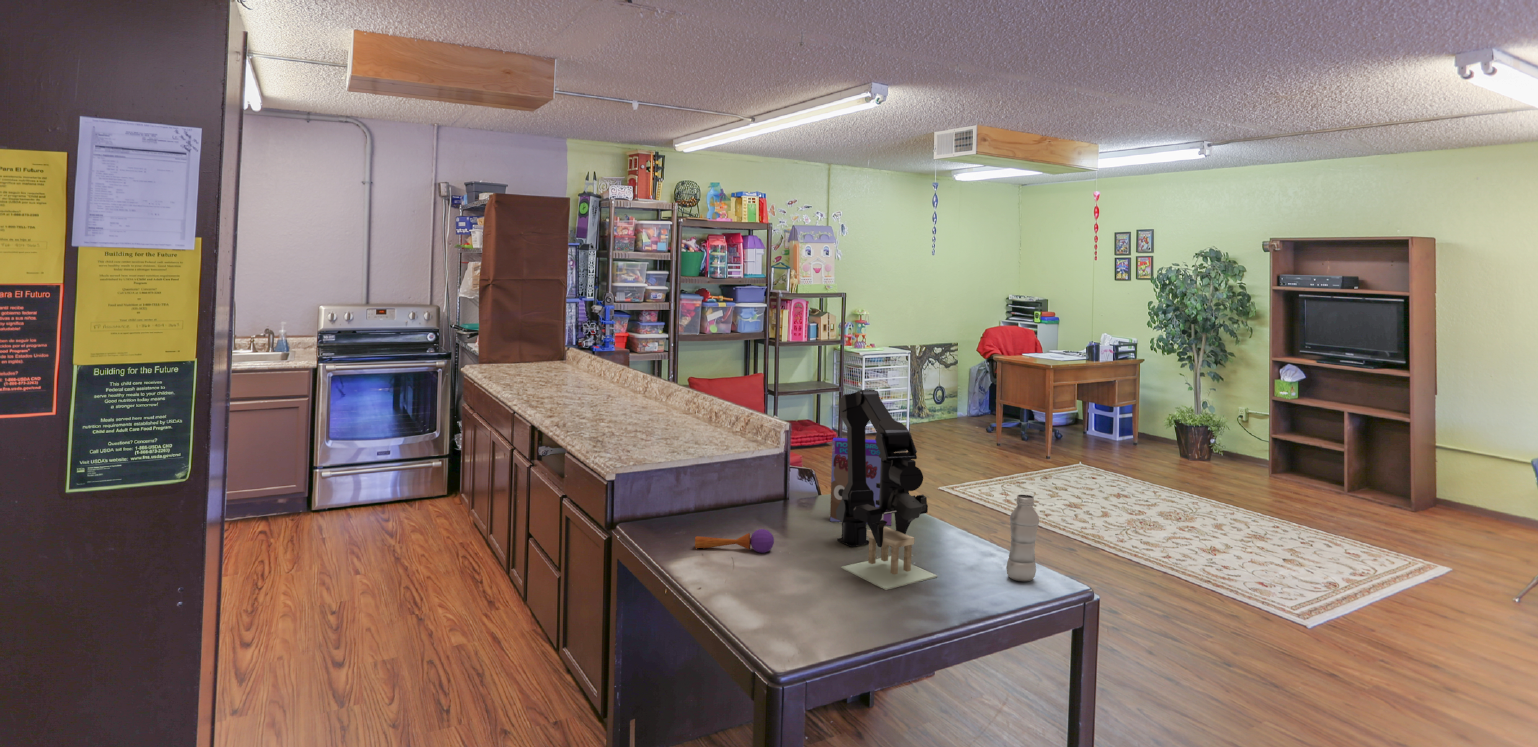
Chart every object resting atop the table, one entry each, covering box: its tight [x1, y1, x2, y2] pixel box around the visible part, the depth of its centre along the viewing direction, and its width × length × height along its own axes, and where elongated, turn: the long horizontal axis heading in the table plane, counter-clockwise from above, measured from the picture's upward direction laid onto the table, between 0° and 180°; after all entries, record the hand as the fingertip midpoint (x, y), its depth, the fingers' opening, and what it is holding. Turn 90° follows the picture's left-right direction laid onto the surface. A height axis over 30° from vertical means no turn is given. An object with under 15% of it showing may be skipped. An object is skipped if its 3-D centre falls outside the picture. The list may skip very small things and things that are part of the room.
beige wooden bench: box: [866, 526, 915, 575], centre depth 190 cm, size 6×10×8 cm, turn 33°
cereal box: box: [829, 437, 893, 527], centre depth 231 cm, size 17×5×24 cm, turn 81°
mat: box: [841, 555, 938, 591], centre depth 191 cm, size 16×16×1 cm
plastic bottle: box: [1005, 493, 1040, 582], centre depth 187 cm, size 6×7×20 cm
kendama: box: [694, 528, 775, 554], centre depth 205 cm, size 6×6×20 cm
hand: (889, 544), depth 190 cm, fingers closed on beige wooden bench, 6 cm apart
